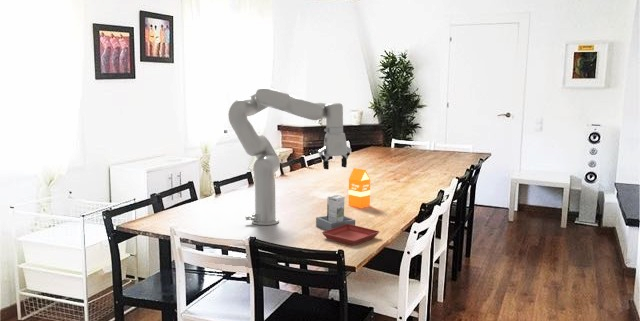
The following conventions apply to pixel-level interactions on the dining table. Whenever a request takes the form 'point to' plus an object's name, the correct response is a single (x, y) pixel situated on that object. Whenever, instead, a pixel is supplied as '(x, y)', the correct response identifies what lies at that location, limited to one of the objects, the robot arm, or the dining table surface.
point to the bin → (328, 225)
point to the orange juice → (359, 188)
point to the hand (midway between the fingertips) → (335, 168)
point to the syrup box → (335, 208)
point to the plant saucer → (350, 234)
